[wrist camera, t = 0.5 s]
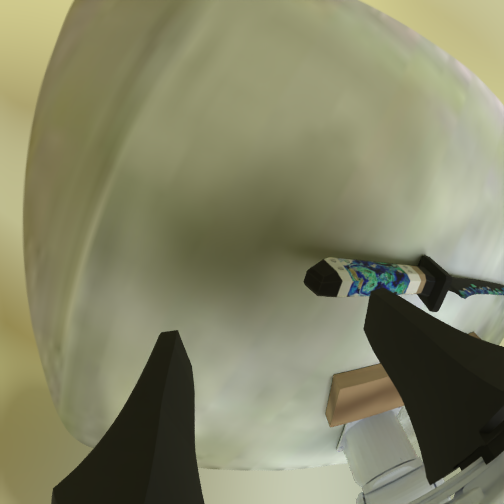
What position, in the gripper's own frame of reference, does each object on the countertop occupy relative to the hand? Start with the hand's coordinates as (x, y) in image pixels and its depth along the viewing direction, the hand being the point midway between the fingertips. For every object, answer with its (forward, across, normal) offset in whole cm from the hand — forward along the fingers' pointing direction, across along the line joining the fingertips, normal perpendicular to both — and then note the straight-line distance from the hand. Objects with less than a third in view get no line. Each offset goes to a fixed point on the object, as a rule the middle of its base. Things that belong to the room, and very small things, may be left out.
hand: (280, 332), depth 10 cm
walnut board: (+7, -16, +20) cm, 27 cm away
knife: (+8, -17, +7) cm, 20 cm away
